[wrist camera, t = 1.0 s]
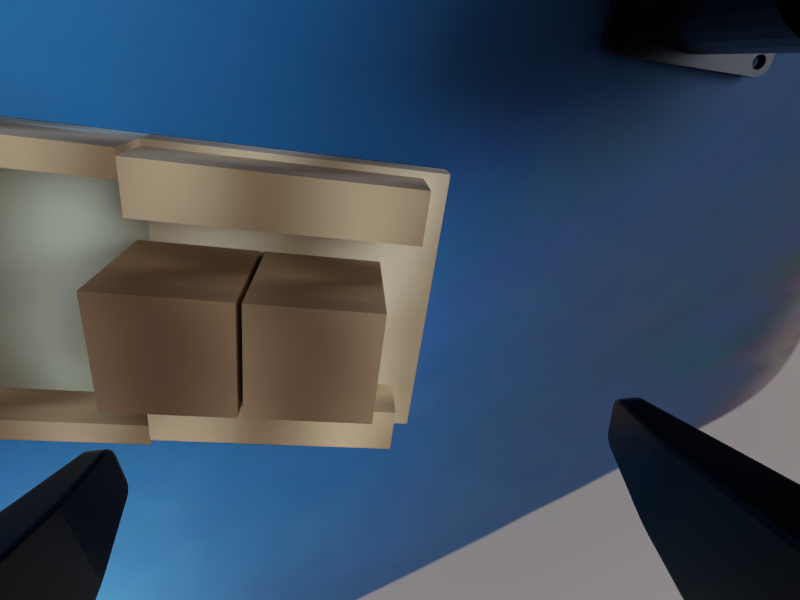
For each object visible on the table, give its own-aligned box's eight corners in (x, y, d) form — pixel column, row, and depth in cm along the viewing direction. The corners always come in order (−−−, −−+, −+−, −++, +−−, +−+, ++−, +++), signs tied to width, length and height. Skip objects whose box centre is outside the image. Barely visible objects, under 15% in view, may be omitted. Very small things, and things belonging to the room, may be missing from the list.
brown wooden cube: (260, 251, 19) (235, 302, 15) (259, 348, 21) (237, 418, 17) (137, 239, 18) (76, 291, 14) (148, 341, 20) (98, 412, 16)
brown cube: (379, 261, 19) (386, 314, 15) (368, 355, 21) (371, 424, 17) (265, 251, 19) (241, 303, 15) (264, 349, 21) (243, 418, 17)
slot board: (446, 169, 19) (461, 187, 16) (404, 410, 24) (411, 453, 21) (-235, 88, 16) (-356, 93, 13) (-114, 385, 21) (-183, 432, 18)
